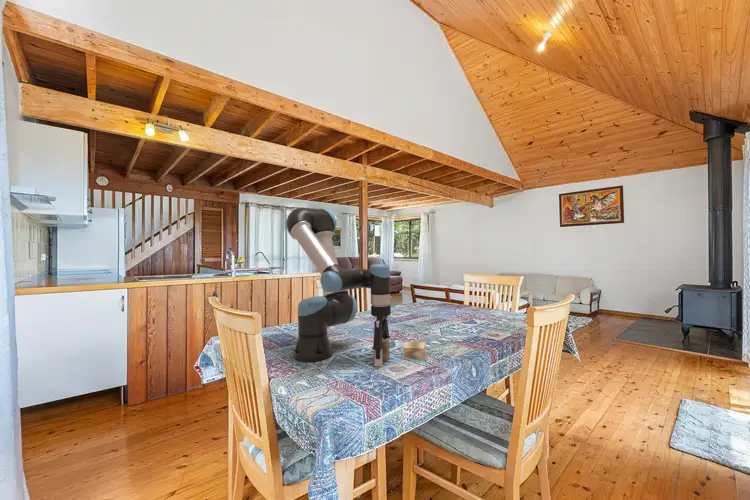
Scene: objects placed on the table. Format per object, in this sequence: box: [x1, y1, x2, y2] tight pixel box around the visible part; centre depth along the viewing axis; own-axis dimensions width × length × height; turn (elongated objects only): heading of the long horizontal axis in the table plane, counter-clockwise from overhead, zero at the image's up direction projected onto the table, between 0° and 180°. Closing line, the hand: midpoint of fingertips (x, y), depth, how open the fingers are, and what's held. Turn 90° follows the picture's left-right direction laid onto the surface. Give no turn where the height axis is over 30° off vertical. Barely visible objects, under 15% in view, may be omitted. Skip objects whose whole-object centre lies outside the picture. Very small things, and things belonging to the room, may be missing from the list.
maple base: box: [403, 341, 427, 360], centre depth 128 cm, size 8×8×4 cm
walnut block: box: [373, 341, 390, 363], centre depth 124 cm, size 5×5×7 cm
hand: (382, 361), depth 124 cm, fingers open, 12 cm apart
